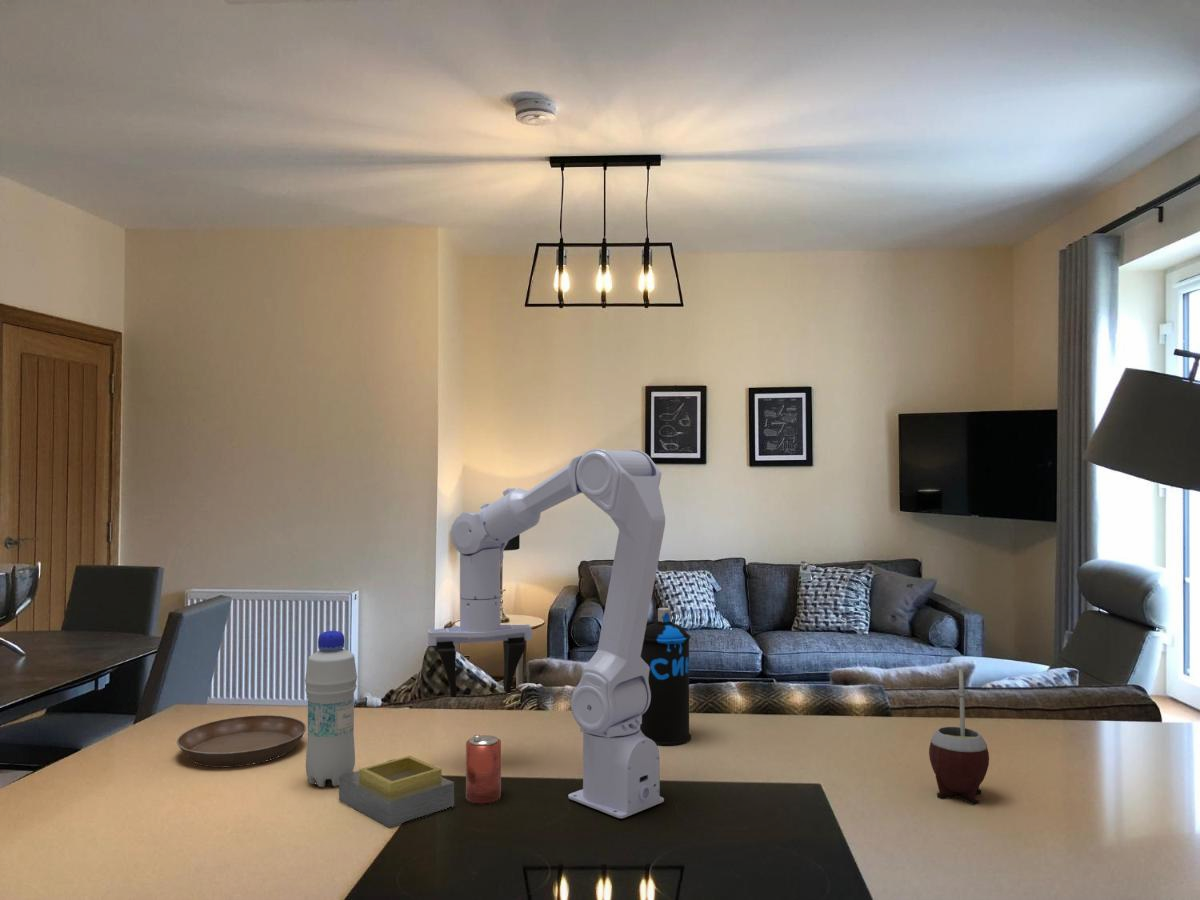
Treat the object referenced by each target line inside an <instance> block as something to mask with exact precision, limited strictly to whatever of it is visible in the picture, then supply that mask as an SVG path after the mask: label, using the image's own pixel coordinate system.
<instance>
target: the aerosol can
mask: <svg viewBox="0 0 1200 900" xmlns="http://www.w3.org/2000/svg"><path fill="white" fill-rule="evenodd" d="M691 637H692V636H691V635H690V634H689V633H688V632H687V630H685V628H683V626H681V625H679V624H677V623H674V622H672V621H671V608H669V607H659V608H657V621H656V622H654V623H652V624H648V625H646V630H645V635H644V640H643V646H642V651H641V658H642V659H643V660H644V661H645V662H646V663H647V664H648V666H649V667H650V671H649V677H648V681H649V687H650V691H651V701H650V705H649V707H648V709H647V711H646V712H645V713H644V714H642V724H640V730H641V731H642V733H643V734H644V735H645V736H646V737H647V738H649V739H651V740H653V741H654V742H655V743H656V745H657V746H663V747H665V746H666V747H668V746H669V747H671V746H678V745H683V744H686V743H688V742H689V741H690V740H691V738H692V736H691V733H690V640H691Z"/></svg>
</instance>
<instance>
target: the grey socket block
mask: <svg viewBox="0 0 1200 900" xmlns="http://www.w3.org/2000/svg"><path fill="white" fill-rule="evenodd" d="M442 771H443V769H442V768H441V767H437V766H436V765H433V764H430V763H428V762H427V761H426V762H425V761H424V760H421V759H418V758H416V757H414V756H412V755H407V756H403V757H399V758H394V759H389V760H386V761H385V762H380V763H377V764H376V763H375V764H373V765H369V766H366V767H362V768H359V770H357V771H353V773H349V774H346V775H342V776H339V784H338V800H340V802H341V801H342V802H341V803H343V804H345V805H347V806H348V807H350V808H352V809H354V810H355V811H358V812H360V813H361V814H363V815H364V816H366V817H369V818H370V819H372V820H374V821H376V822H378V823H379V824H381V825H383V826H384V827H387V828H388V829H391V828H394V827H397V826H401V825H403V824H402V823H404V822H406V821H408V820H410V819H413V818H417V817H420V816H424V815H427V814H430V813H433V812H437V811H440V810H443V809H446V810H448V809H447V808H449V807H452V808H454V807H455V782H454V781H452V780H450V779H447V778H445V777H442V775H443V774H442ZM453 806H454V807H453ZM449 809H450V808H449ZM443 811H444V810H443ZM440 812H441V811H440ZM437 813H438V812H437ZM404 824H405V823H404Z"/></svg>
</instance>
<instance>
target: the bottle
mask: <svg viewBox="0 0 1200 900" xmlns="http://www.w3.org/2000/svg"><path fill="white" fill-rule="evenodd" d="M317 649H318V650H317V651H316V652H314V653H311V654H310V655H309V656H308V659H307V665H306V666H307V667H306V671H305V679H304V682H305V683H304V684H305V692H306V695H307V742H306V751H305V754H306V755H305V773H306V778H307V781H308V782H309V784H311V785H313V784H315V783H317V784H316V785H318V787H319V788H325V787H326V781H327V780H331V785H332V787H337V786H339V776H342V775H346V774H349V773H353V772H354V768H355V766H356V765H355V764H356V750H355V737H354V735H355V732H354V731H355V730H354V729H355V723H354V722H355V719H354V718H355V691H356V689H357V681H358V680H357V679H358V674H357V667H356V660H355V659H356V658H355V655H354V653H353V652H351V651H349V650H347V649H345V635H344V633H343V632H342V631H338V630H327V631H323V632H322V633H320V634H319V635H318V639H317Z"/></svg>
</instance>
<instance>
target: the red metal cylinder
mask: <svg viewBox="0 0 1200 900" xmlns="http://www.w3.org/2000/svg"><path fill="white" fill-rule="evenodd" d="M501 792H502V740H501V739H499V737H498V736H497V737H496V736H495V735H486V734H485V735H481V734H474V735H473V736H472V737H471V738H469V739H467V741H466V742H465V800H466V799H467V800H468V801H470V802H473V803H481V804H480V805H484V804H483V803H489V804H491V803H490V802H493V803H495V802H494V801H496V802H498V801H499V800H501V798H502V793H501ZM500 797H501V798H500ZM498 799H499V800H498ZM467 800H466V801H467ZM497 800H498V801H497ZM468 801H467V802H468ZM470 802H469V803H470ZM473 803H472V804H473Z"/></svg>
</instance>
